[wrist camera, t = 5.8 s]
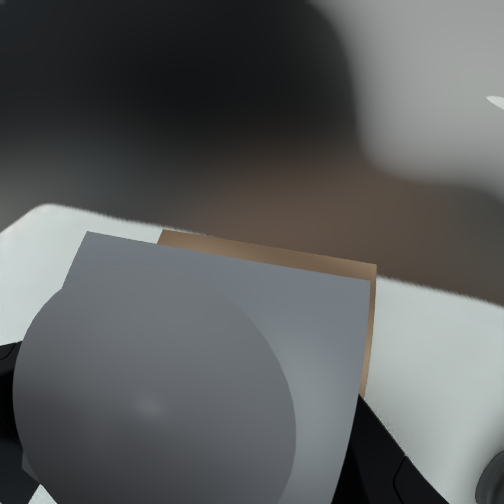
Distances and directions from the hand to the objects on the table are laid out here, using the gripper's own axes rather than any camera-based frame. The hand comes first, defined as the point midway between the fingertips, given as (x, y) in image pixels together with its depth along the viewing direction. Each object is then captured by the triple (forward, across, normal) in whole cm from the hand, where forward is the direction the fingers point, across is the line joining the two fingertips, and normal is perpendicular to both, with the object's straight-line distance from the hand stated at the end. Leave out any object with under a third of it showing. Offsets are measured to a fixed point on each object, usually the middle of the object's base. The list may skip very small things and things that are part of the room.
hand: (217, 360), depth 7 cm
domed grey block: (+3, 0, +5) cm, 5 cm away
